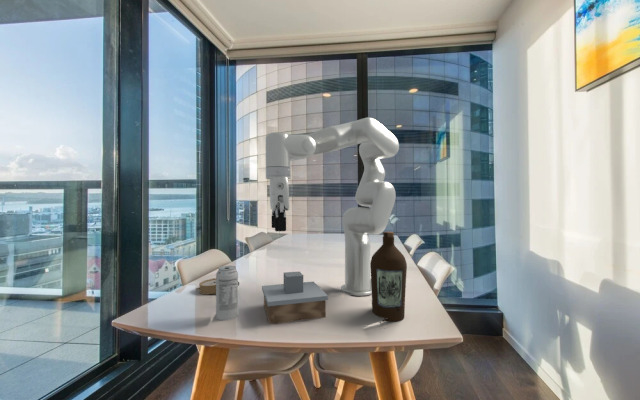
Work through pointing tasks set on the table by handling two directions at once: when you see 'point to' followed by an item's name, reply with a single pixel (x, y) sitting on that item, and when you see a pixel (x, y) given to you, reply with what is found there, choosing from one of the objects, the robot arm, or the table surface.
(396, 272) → the olive oil
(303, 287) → the lid
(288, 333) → the table surface
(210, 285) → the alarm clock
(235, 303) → the energy drink can
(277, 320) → the box
